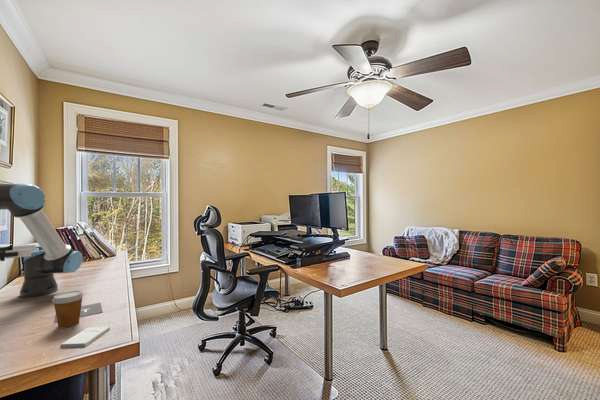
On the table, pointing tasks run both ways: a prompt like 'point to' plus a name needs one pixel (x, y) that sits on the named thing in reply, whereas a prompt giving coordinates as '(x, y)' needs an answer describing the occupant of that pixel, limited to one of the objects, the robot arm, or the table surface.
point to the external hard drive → (85, 337)
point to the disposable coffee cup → (68, 308)
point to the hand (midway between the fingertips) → (33, 250)
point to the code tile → (88, 310)
